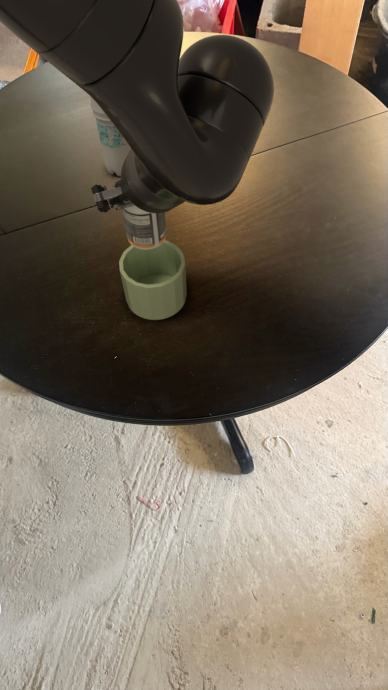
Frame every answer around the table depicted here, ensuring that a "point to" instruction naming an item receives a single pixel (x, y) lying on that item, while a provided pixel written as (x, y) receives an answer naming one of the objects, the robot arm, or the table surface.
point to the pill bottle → (144, 228)
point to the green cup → (154, 280)
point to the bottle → (110, 141)
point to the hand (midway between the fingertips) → (138, 195)
